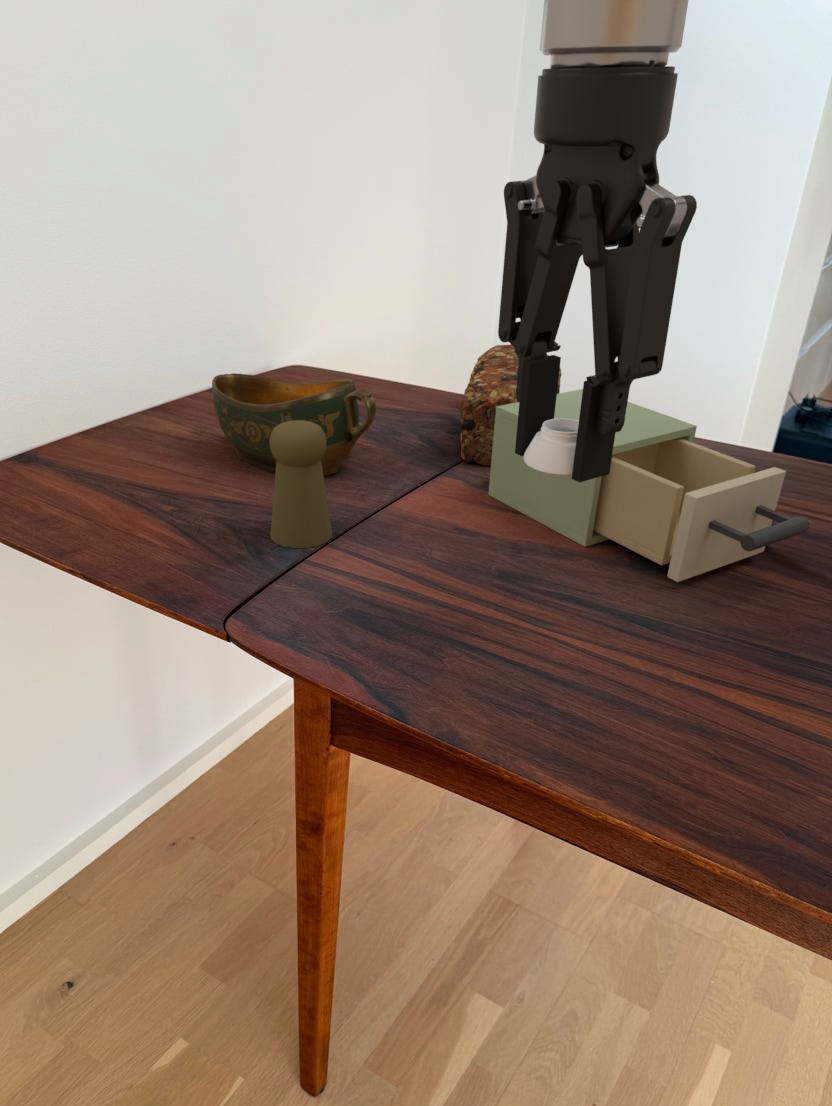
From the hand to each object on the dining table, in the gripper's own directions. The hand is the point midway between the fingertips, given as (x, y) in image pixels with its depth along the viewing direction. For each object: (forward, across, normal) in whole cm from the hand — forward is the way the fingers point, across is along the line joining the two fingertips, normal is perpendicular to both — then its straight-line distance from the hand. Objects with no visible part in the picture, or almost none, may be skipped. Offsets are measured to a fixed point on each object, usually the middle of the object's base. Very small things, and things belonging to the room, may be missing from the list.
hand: (560, 462), depth 61 cm
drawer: (+14, +5, -21) cm, 26 cm away
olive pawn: (+15, +27, +6) cm, 31 cm away
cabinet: (+15, +18, -21) cm, 32 cm away
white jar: (0, 0, 0) cm, 0 cm away
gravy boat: (+15, +45, -2) cm, 47 cm away
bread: (+15, +37, -28) cm, 48 cm away
